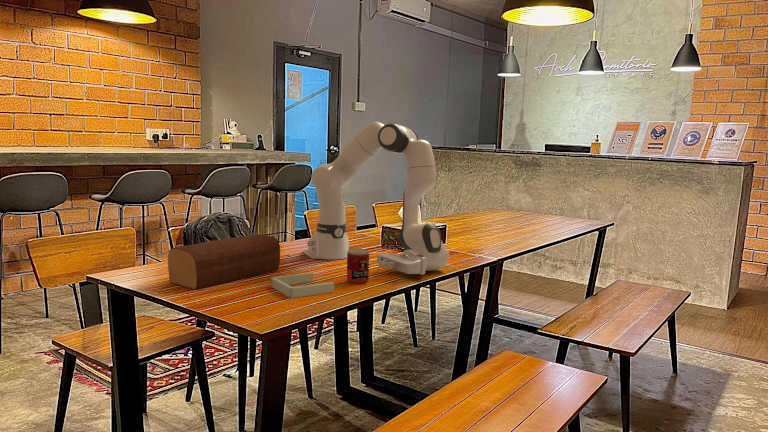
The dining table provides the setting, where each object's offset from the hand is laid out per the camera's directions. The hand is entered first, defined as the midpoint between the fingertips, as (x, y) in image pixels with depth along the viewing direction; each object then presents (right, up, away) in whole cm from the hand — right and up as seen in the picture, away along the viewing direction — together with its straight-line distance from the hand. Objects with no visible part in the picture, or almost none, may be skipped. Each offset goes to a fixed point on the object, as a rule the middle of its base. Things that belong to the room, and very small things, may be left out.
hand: (380, 265), depth 211 cm
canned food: (-8, -6, -4) cm, 11 cm away
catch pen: (-25, -7, -16) cm, 31 cm away
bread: (-54, -4, -2) cm, 55 cm away
